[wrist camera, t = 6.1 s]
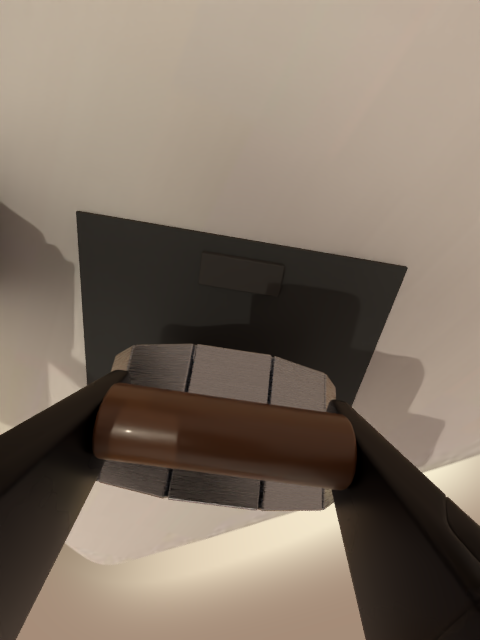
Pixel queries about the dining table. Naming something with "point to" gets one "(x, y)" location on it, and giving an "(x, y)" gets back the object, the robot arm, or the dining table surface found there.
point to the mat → (229, 297)
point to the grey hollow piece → (223, 429)
